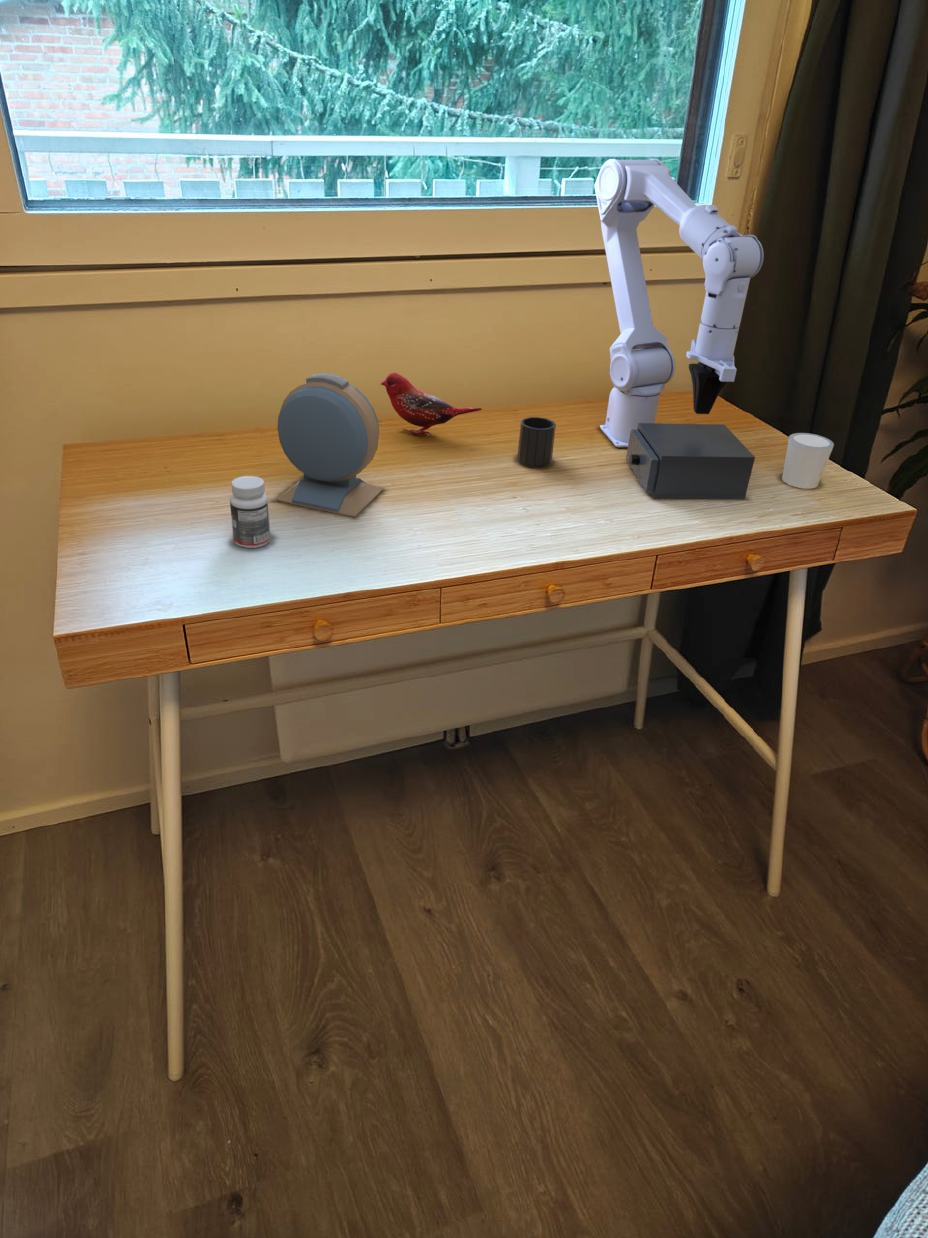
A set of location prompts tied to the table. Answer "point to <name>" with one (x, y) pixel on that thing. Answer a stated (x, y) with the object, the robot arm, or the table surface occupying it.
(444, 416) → the decorative bird figurine
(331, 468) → the alarm clock
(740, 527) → the table surface
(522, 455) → the dark grey faceted cup
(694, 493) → the dark grey cabinet
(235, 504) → the pill bottle
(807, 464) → the white cylinder
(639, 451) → the drawer
